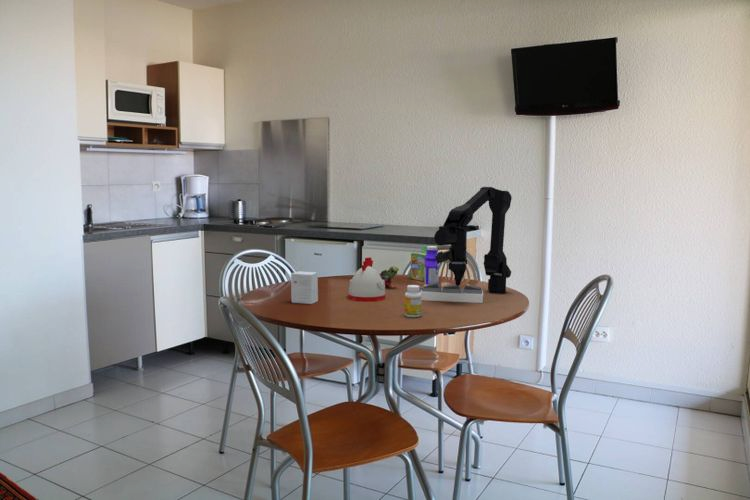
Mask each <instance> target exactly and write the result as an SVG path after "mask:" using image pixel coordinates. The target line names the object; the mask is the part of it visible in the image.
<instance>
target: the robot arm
mask: <svg viewBox="0 0 750 500" xmlns="http://www.w3.org/2000/svg"><path fill="white" fill-rule="evenodd" d="M512 199H513V198H512V193H511V192H510V191H508V190H502V189H498V188H495V187H493V186H482V187H480V188H479V190H478V191H477V192H476V193H475V194H474V195H472V196H471V197H470V198H469V199H467V201H465V203H464V204H461V205H458V206H455V207H454V208H452V209H450V211H449V212H448V215H447V217H446V219H445V221H444V223H443V225H440V226H438V229H437V231H435V233H434V236H433V238H434V242H435V243H436V245H437V246H443V247H444V246H450V247H449V250H446V251H442V250H441V251H437V253H438V254H436V255H435V258H436V261H437V264H439V265H440V264H442V263H444V262H447V261H448V262H449V263H448V264H447V265H448V266H447V269H448V271H451V272H452V273H453V276H454V281H455V283H454V284H456V285H459V286H460V285H461V282H462V280H463V277H464V276H465V274H466V270H467V265H468V258H467V248H468V247H467V243H468V241H467V240H468V239H467V236H468V234H467V233H468V232H470V231H471V228H470V227H469V226H468V225H469V224H470V223H471V222H472V220H473V219H474V214H475V213H476V212H477V211H478V210H479V209H480V208H481V207H482V206H483V205H485V204H486V203H487V202H488V207H489V209H490V211H491V213H492V214H491V215H492V216H491V228H490V229H491V230H490V243H489V251H488V253H486V254H484V256H483V259H484V261H483V263H482V264H483V266H484V267H483V268H484V272H485V276H489V278H488V279H487V291H488V292H489V293H495V294H506V293H507V279H509V278H510V277H511V275H512V270H511V269H510V267H509V265H508V262H507V259H508V258H507V256H506V254H505V252H504V240H505V228H506V227H505V225H506V223H505V222H506V214H507V213H508V211H509V209H511V208H510V207H511V203H512Z"/></svg>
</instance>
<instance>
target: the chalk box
mask: <svg viewBox="0 0 750 500" xmlns="http://www.w3.org/2000/svg"><path fill="white" fill-rule="evenodd" d="M427 246H428V245H422V248H421V252H411V253H410V272H409V273H410V275H409V277H410V278H409V279H411V280H415V281H419V282H424V274H425V267H424V266H425V260H426V259H425V256H426V253H427V250H426V251H425V249H427ZM439 270H440V269H439ZM439 270H438V276H440V275H439V274H440V272H439Z"/></svg>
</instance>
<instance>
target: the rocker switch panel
mask: <svg viewBox="0 0 750 500" xmlns="http://www.w3.org/2000/svg"><path fill="white" fill-rule="evenodd" d="M424 286H425V285H424V284H423V285H422V286H421V289H420V290H419V292H420V293H421V296H422V298H421V301H429V302H430V301H433V302H449V303H450V302H455V303H472V304H473V303H475V304H483V303H484V290H483V287H480V290H469V289H465V286H463V287H462V286H459V289H445V288H444V287H445V285H439V287H438V288H424Z"/></svg>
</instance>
